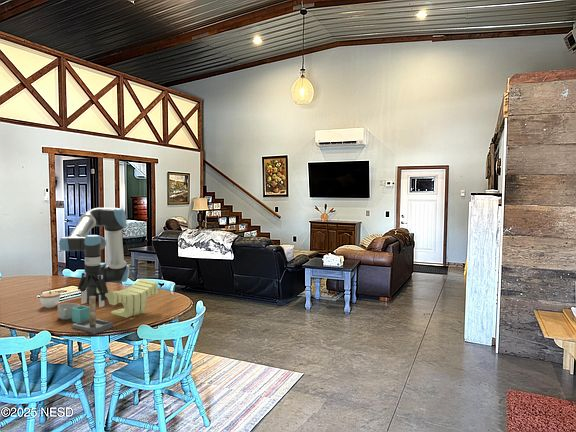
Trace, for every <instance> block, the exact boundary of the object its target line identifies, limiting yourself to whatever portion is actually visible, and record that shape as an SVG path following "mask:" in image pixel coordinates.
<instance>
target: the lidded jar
mask: <svg viewBox="0 0 576 432" xmlns="http://www.w3.org/2000/svg"><path fill="white" fill-rule="evenodd" d="M60 298H61V293H60V292H58V291H49V292H44V293H41V294H40V295H39V300H40V301H39V302H40V304H41V305H42V306H43V307H44V308H46V309H50V308H55V307H57V306H58V305H59V304H60Z"/></svg>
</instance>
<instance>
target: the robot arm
mask: <svg viewBox="0 0 576 432" xmlns="http://www.w3.org/2000/svg"><path fill="white" fill-rule="evenodd" d="M126 215H127V214H126V212H125V210H124V209H123V208H121V207H119V208H118V207H94V208H91V209H89V210H86V211H85V212H84V213H83V214H81V216H80V217H79V222H78V223H77V225H76V226H74V228H73V230H72V231H71V233H70V234H69V235H68V236H62V237H60V239H59V241H58V242H59V243H58V244H59V246H58V247H59V249H60V250H61V251H63V252H65V251H66V252H79V251H80V252H84V272H81V276H80V280H79V283H78V287H77V290H80V297H81V300H80V301H81V303H80V304H81V305H82V304H87V303H88V302H89V296H96V301H98V307H99V308H102V307H105V301H106V299H108V298H107V297H106V296H105V294H106V293H108V290H109V289H108V287H107V283H125V282H127V281H128V279H129V275H130V269H131V266H130V265H129V264H128V263H127V261H126V260H125V256H124V255H125V254H124V245H123V242H124V241H123V230H124V228H125V226H126V225H127V216H126ZM94 227H103V228H104V230H105V231H106V232H107V233H106V234H107V240H106V238H105V237H103V236H100V235H98V234H89V232H90V231H91V229H93V228H94ZM107 241H108V242H107ZM107 243H108V252H109V262H108V264H106V262H101V261H102V260H101V253H102V252H101V250H104V249H105V247H106V246H107ZM97 289H98V291H99V293H97Z"/></svg>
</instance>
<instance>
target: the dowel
mask: <svg viewBox="0 0 576 432" xmlns="http://www.w3.org/2000/svg"><path fill="white" fill-rule="evenodd" d="M88 302H89V305H88V307H89V318H90V327H95V326H96V319H97V315H96V314H97V312H96V311H97V308H96V307H97V304H96V302H97V300H96V296H89V301H88Z"/></svg>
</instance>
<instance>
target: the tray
mask: <svg viewBox="0 0 576 432" xmlns="http://www.w3.org/2000/svg"><path fill="white" fill-rule="evenodd" d="M71 327H72V329H77V330H81V331H84V332H88V333H89V334H91V335H96V334H98V333H101V332H104V331H107V330H110V329H113V328H114V322H113V321H108V320H103V319H99V318H96V326H95V327H90V319H87V320H84V321H81V322H78V323H77V322H74V323H72V324H71Z"/></svg>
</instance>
